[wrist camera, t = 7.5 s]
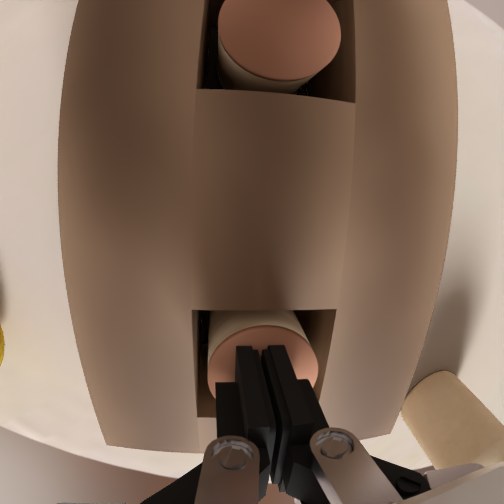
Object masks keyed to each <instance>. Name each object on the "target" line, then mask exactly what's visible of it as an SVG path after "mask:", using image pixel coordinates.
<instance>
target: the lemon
mask: <svg viewBox="0 0 504 504" xmlns="http://www.w3.org/2000/svg"><path fill="white" fill-rule="evenodd" d="M4 345H5V344H4V336H3V331H2V328H1V325H0V365H1V363H2V360H3V356H4Z"/></svg>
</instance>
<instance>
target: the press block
mask: <svg viewBox="0 0 504 504" xmlns="http://www.w3.org/2000/svg"><path fill="white" fill-rule="evenodd" d="M224 1H225V0H79V1H78V5H77V9H76V13H75V17H74V22H73V27H72V31H71V36H70V42H69V47H68V53H67V59H66V65H65V72H64V80H63V88H62V97H61V108H60V121H59V138H58V206H59V224H60V238H61V249H62V258H63V267H64V275H65V282H66V289H67V295H68V302H69V307H70V313H71V319H72V324H73V329H74V334H75V338H76V343H77V347H78V352H79V356H80V360H81V364H82V368H83V372H84V376H85V379H86V383H87V387H88V390H89V394H90V397H91V400H92V404H93V407H94V410H95V413H96V416H97V419H98V422H99V425H100V428H101V431H102V434H103V436H104V439H105V442H106V445H111V446H117V447H125V448H133V449H142V450H152V451H165V452H181V453H205V450H206V448H207V446H208V445H209V444H210V443H211V442H212V441H213V440H215V439H217V428H216V399H215V398H214V397H213V395H212V393H211V391H210V389H209V386H208V344H202V343H201V310H245V311H254V310H293V311H294V313H295V315H296V317H297V319H298V321H299V323H300V325H301V327H302V329H303V331H304V333H305V335H306V337H307V339H308V341H309V343H310V345H311V347H312V349H313V352H314V354H315V356H316V358H317V362H318V376H317V379H316V382H315V384H314V387H313V390H314V392H315V395H316V397H317V399H318V402H319V404H320V406H321V409H322V411H323V413H324V416H325V418H326V420H327V423H328V425H329V427H330V428H331V427H334V428H341V429H345V430H347V431H349V432H351V433H353V434H354V435H355V436H356V437H357V439H358V440H363V439H368V438H373V437H377V436H382V435H386V434H390V433H391V431H392V429H393V426H394V424H395V422H396V419H397V417H398V415H399V412H400V410H401V407H402V405H403V402H404V400H405V397H406V395H407V392H408V389H409V387H410V384H411V381H412V378H413V376H414V373H415V370H416V367H417V364H418V361H419V358H420V355H421V352H422V348H423V345H424V342H425V339H426V335H427V332H428V328H429V325H430V321H431V317H432V314H433V310H434V306H435V302H436V298H437V293H438V289H439V285H440V280H441V275H442V270H443V265H444V260H445V255H446V249H447V243H448V237H449V231H450V224H451V217H452V209H453V200H454V190H455V179H456V165H457V145H458V95H457V75H456V62H455V51H454V42H453V34H452V27H451V20H450V14H449V8H448V3H447V0H326V1H327V2H328V3H329V4H330V5H331V7H332V8H333V10H334V11H335V13H336V15H337V17H338V20H339V23H340V28H341V41H340V46H339V48H338V51H337V53H336V55H335V56H334V58H333V59H332V60H331V62H330V63H329V64H328V65H326V66H325V67H324V68H323V69H322V70H321V71H319V72H318V73H317V74H316V75H315V76H313V77H312V78H311V79H310V80H309V81H308V96H302V95H293V94H283V93H273V92H260V91H245V90H223V89H206V83H207V70H208V57H209V45H210V34H211V26H218V18H219V13H220V10H221V7H222V5H223V3H224Z"/></svg>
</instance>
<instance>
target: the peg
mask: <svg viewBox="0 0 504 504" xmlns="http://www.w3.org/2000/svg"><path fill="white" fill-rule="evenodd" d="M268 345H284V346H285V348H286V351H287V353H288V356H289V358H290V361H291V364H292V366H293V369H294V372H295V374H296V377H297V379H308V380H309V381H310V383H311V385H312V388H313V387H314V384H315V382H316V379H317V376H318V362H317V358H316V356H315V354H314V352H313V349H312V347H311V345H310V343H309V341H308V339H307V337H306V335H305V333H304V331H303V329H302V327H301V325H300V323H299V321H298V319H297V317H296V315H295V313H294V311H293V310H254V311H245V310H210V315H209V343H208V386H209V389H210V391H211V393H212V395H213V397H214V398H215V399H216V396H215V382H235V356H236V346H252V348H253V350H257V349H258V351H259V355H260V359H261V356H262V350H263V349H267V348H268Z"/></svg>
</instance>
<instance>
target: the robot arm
mask: <svg viewBox="0 0 504 504" xmlns="http://www.w3.org/2000/svg"><path fill="white" fill-rule="evenodd" d="M215 396H216V428H217V439H215V440H213V441H212V442H211V443H210V444H209V445H208V446H207V448H206V450H205V453H204V458H203V462H202V463H201V464H199V465H198V466H196V467H195V468H194V469H192V470H191V471H189V472H188V473H186V474H185V475H183V476H182V477H180V478H179V479H177V480H176V481H175V482H173V483H171V484H170V485H168V486H167V487H165V488H163V489H162V490H160V491H159V492H157V493H155V494H154V495H152V496H151V497H149V498H147V499H146V500H144V501H143V502H142V503H140V504H258V502H259V501H260V500H261V499H262V498H263V497H264V496H265V495H266V489H267V485H268V481H269V475H270V477H271V481H272V484H278V487H279V491H280V492H285V491H286V493H287V494H288V495H290V496H292V497H294V501H295V504H504V461H503V462H499V463H495V464H492V465H489V466H486V467H484V466H483V465H481V464H477V463H469V464H464V465H459V466H454V467H449V468H443V469H438V470H431V471H426V472H425V473H424V474H423V475H421V474H420V473H418V472H415V471H413V470H410V469H407V468H404V467H401V466H398V465H395V464H392V463H390V462H387V461H384V460H381V459H379V458H376V457H373V456H371V455H369V454H368V452H367V451H366V449H365V448H364V447H363V445H362V444H361V443H360V441H359V440H358V439H357V437H356V436H355V435H354V434H353V433H351V432H349V431H347V430H345V429H341V428H334V427H331V428H330V427H329V425H328V423H327V420H326V418H325V416H324V413H323V411H322V409H321V406H320V404H319V402H318V399H317V397H316V395H315V392H314V390H313V388H312V385H311V383H310V381H309V380H308V379H297V377H296V374H295V372H294V369H293V366H292V364H291V361H290V358H289V356H288V353H287V351H286V348H285V346H284V345H268V348H267V349H263V350H262V356H261V359H260V355H259V351H258V349H257V350H253V348H252V346H236V356H235V382H215ZM58 504H89V503H58ZM90 504H93V503H90ZM94 504H95V503H94ZM102 504H126V503H102Z"/></svg>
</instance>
